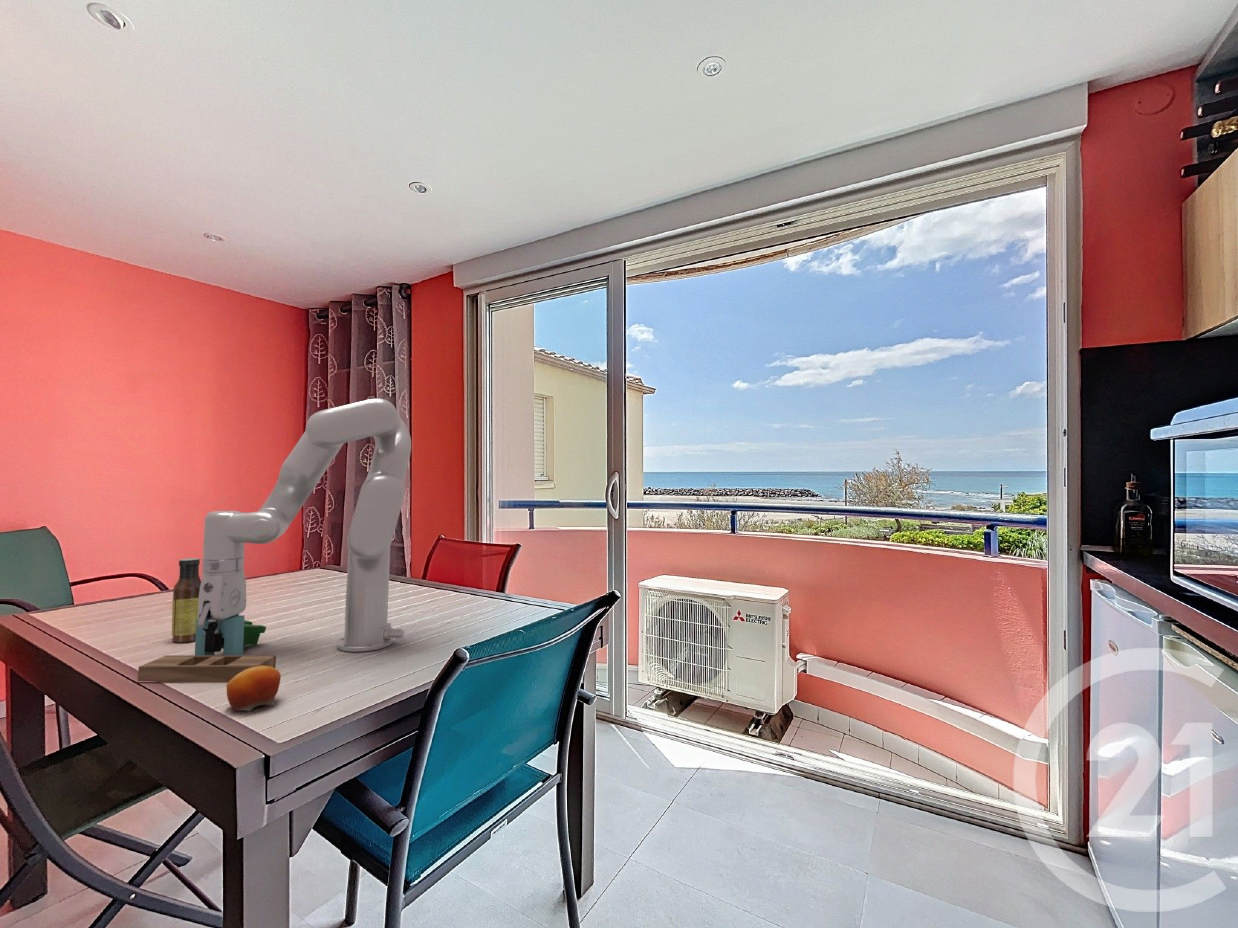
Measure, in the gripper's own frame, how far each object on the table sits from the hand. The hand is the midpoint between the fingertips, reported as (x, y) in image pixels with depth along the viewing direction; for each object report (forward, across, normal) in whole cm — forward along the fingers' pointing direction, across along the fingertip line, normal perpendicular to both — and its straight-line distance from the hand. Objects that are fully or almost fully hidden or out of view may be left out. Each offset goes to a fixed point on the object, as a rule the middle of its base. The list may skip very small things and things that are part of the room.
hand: (219, 647), depth 121 cm
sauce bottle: (+3, +14, +16) cm, 21 cm away
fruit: (+3, -26, -22) cm, 34 cm away
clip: (+2, 0, 0) cm, 2 cm away
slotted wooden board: (+2, -11, -5) cm, 12 cm away
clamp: (+3, +10, +1) cm, 10 cm away
